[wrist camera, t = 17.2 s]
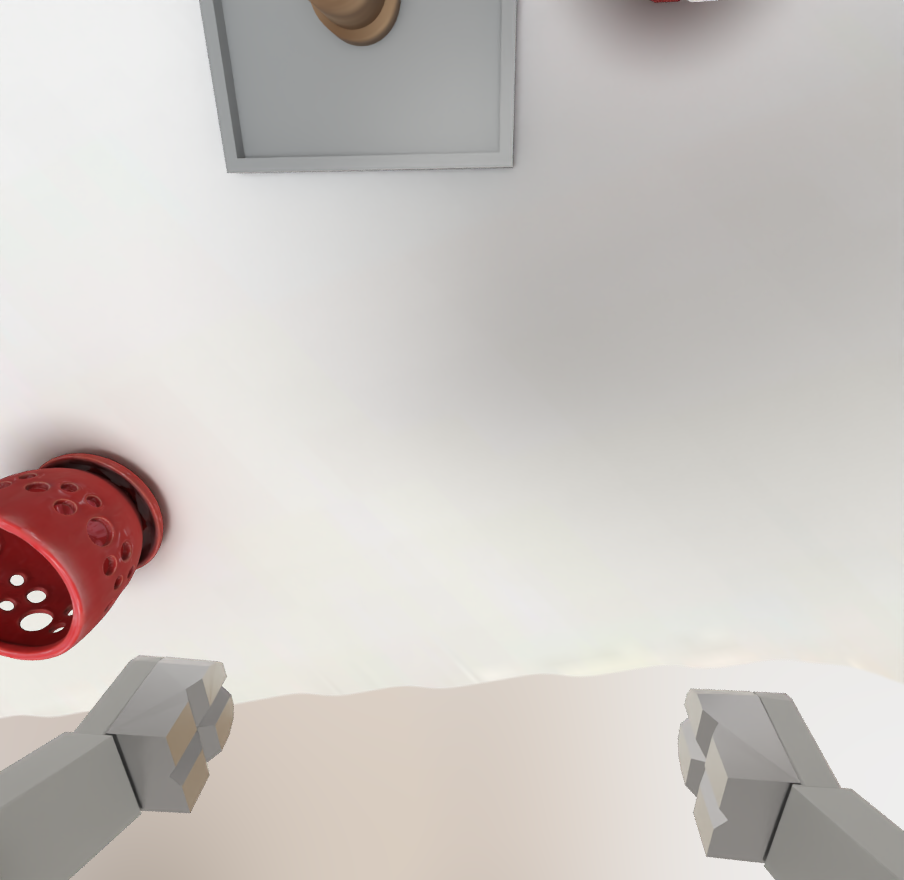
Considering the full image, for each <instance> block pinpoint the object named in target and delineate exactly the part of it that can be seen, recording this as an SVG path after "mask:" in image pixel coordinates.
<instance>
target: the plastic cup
mask: <svg viewBox="0 0 904 880" xmlns="http://www.w3.org/2000/svg"><path fill="white" fill-rule="evenodd" d="M651 1H653V2H655V3H658V2H677V1H680V0H651ZM688 1H690V2H702V1H716V0H688Z"/></svg>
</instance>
